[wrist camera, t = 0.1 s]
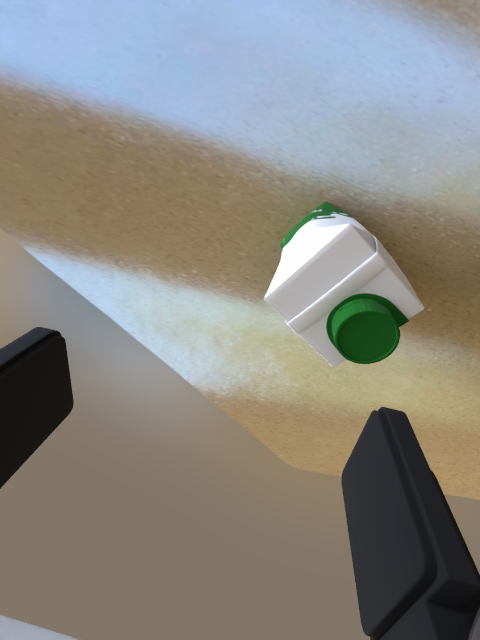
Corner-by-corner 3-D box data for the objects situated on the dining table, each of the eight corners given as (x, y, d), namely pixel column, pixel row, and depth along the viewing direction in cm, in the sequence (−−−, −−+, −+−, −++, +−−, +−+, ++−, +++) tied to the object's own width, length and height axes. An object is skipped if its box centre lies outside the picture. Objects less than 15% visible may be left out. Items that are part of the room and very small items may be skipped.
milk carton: (318, 293, 40) (334, 395, 22) (269, 243, 38) (245, 310, 20) (377, 246, 36) (454, 322, 18) (326, 187, 34) (357, 210, 16)
